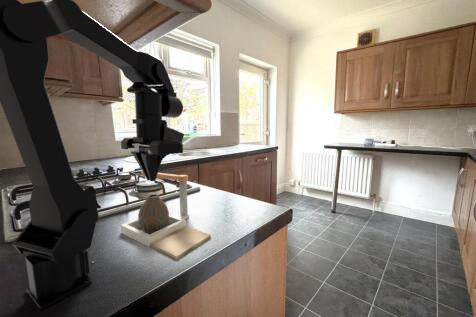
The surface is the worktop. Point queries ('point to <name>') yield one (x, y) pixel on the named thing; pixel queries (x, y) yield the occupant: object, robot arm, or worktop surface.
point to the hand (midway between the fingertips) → (151, 180)
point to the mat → (180, 241)
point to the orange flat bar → (171, 177)
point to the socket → (175, 221)
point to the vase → (153, 214)
